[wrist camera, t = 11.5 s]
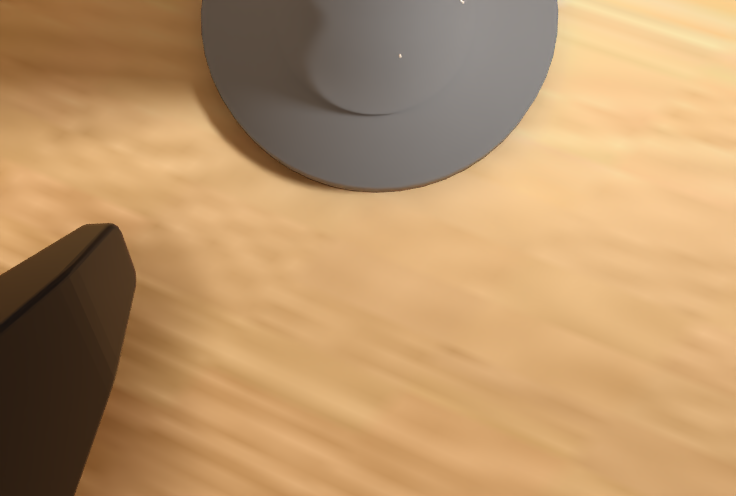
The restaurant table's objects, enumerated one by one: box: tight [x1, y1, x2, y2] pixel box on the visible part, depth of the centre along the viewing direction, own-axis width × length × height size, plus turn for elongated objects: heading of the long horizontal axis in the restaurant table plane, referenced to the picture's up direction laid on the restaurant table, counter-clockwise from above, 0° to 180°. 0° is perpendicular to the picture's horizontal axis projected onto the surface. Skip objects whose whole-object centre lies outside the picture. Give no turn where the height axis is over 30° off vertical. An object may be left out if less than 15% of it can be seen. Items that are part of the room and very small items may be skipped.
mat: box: [201, 0, 558, 192], centre depth 20 cm, size 11×11×1 cm
